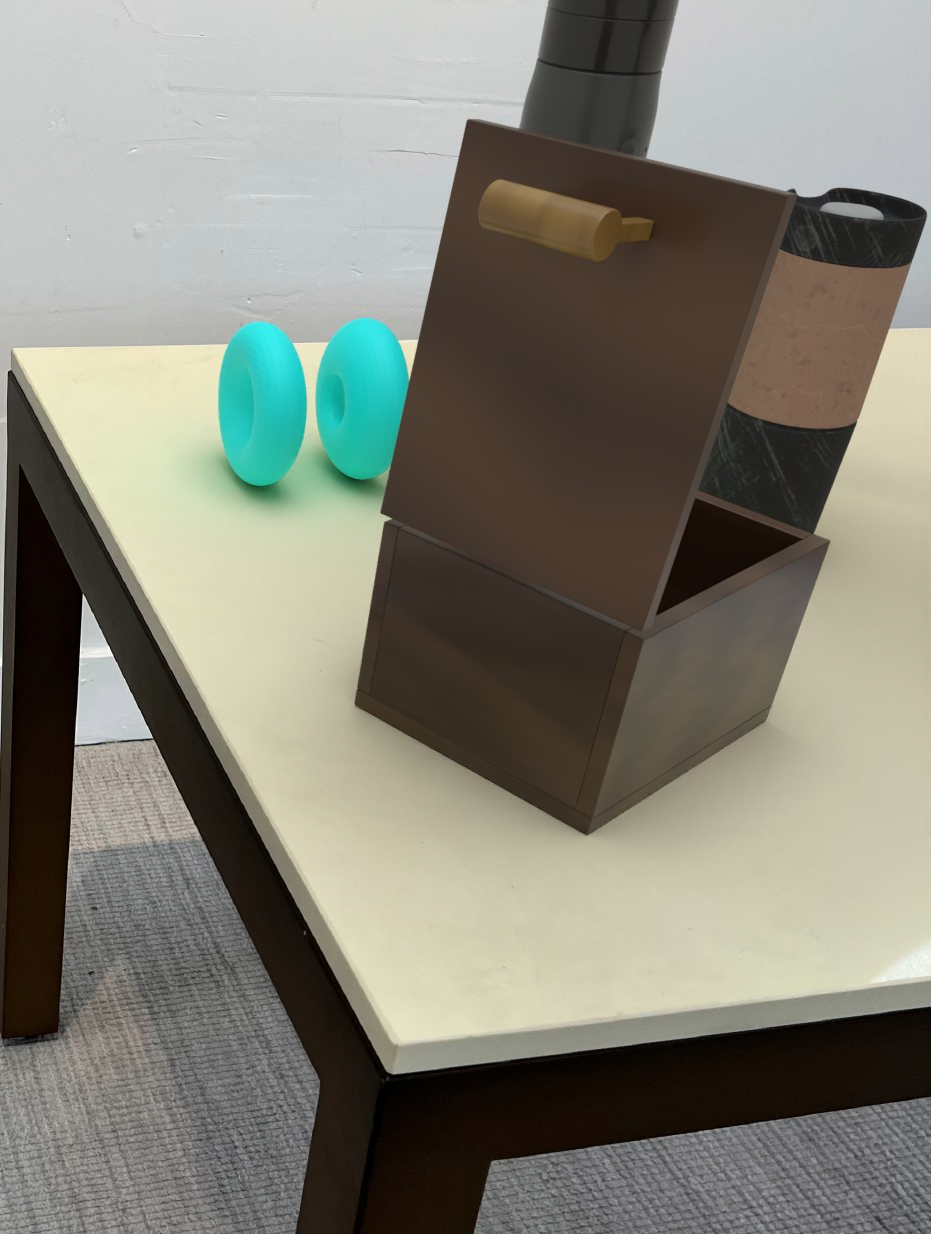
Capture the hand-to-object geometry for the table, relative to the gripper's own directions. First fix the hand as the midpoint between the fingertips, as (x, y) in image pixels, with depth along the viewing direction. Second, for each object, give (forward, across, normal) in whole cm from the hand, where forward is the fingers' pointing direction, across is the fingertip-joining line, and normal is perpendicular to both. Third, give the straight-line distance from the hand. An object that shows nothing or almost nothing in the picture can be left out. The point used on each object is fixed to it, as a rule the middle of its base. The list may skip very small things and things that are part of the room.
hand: (522, 423), depth 97 cm
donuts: (+4, +8, +12) cm, 15 cm away
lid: (-15, -20, +30) cm, 39 cm away
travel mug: (+4, -15, -4) cm, 16 cm away
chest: (+3, -20, +23) cm, 31 cm away
